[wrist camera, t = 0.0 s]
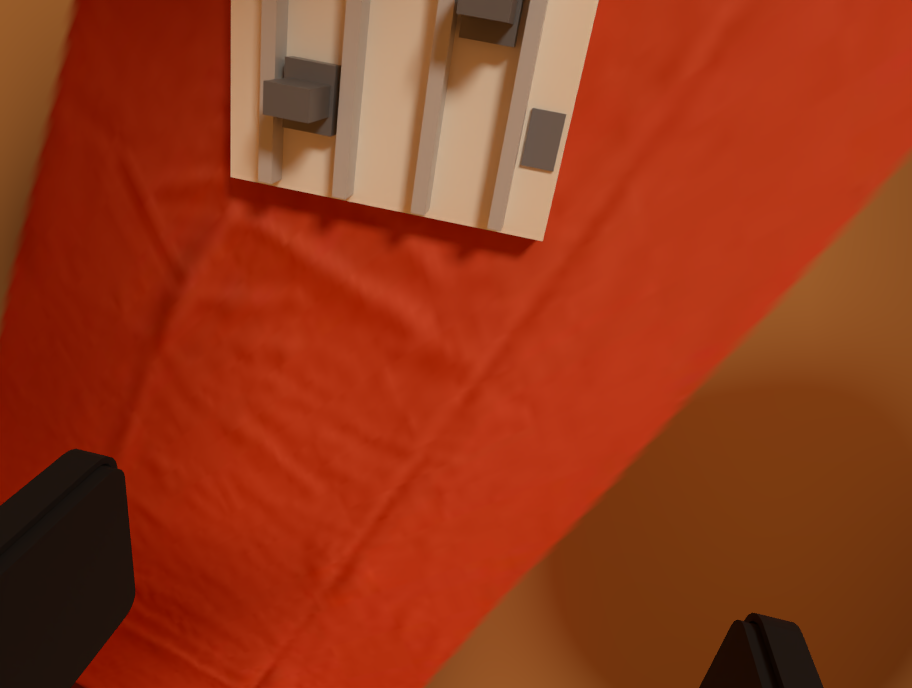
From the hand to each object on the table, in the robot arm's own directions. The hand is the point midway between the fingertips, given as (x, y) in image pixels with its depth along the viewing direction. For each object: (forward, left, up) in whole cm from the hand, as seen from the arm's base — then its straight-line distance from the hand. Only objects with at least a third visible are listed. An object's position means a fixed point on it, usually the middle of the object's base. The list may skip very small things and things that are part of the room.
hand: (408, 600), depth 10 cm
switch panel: (-6, -8, -31) cm, 33 cm away
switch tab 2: (-9, -4, -29) cm, 31 cm away
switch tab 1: (-3, -13, -29) cm, 32 cm away
